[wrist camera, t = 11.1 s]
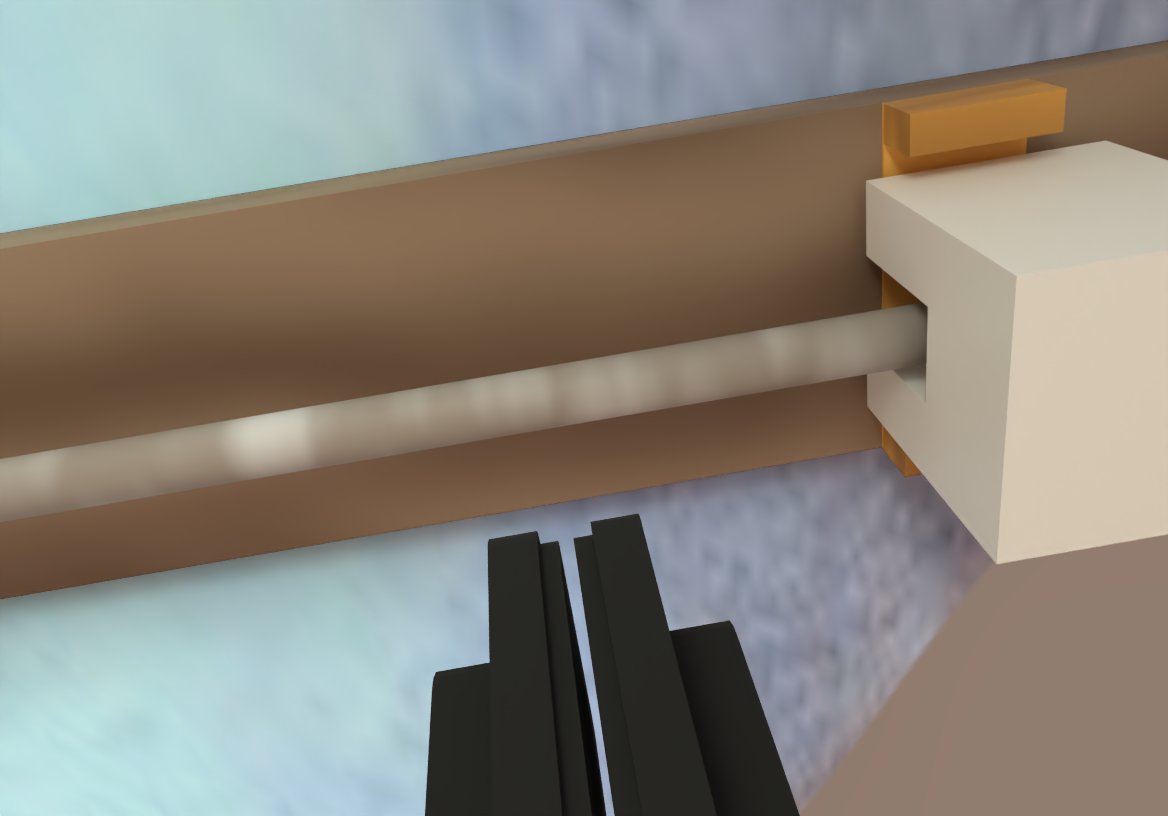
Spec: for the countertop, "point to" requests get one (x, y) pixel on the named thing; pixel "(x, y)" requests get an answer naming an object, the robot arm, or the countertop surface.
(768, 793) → the robot arm
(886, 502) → the countertop surface
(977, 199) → the sleeve
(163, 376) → the linear slide rail
